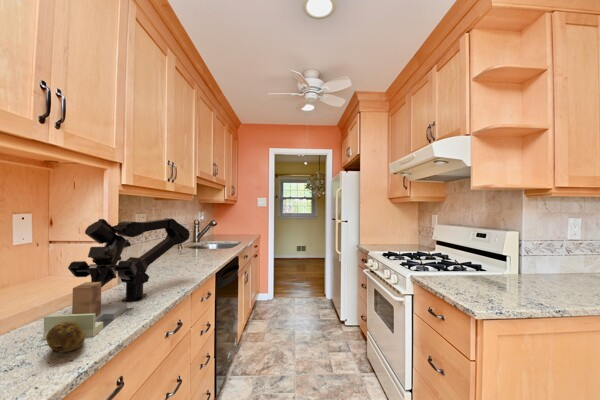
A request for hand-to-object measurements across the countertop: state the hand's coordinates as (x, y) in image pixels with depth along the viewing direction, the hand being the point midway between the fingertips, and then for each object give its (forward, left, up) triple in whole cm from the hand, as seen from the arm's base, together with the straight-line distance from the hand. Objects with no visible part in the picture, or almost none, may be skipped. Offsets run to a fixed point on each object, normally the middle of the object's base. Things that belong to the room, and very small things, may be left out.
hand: (92, 292), depth 86 cm
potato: (+18, +4, -9) cm, 21 cm away
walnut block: (+3, 0, -7) cm, 7 cm away
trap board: (+1, 0, -9) cm, 9 cm away
